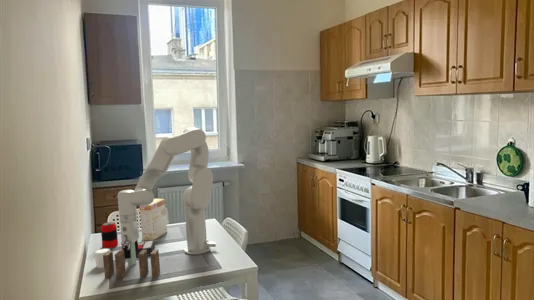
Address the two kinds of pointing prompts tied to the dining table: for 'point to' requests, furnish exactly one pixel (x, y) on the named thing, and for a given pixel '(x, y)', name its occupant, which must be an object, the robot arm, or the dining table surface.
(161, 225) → the coffeecake box
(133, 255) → the domino
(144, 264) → the domino
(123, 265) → the domino
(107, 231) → the soda can
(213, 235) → the dining table surface
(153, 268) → the domino
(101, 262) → the white short cylinder
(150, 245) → the black and red box
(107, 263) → the domino
